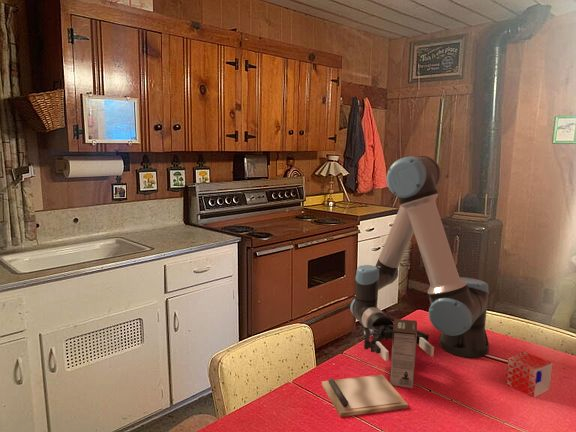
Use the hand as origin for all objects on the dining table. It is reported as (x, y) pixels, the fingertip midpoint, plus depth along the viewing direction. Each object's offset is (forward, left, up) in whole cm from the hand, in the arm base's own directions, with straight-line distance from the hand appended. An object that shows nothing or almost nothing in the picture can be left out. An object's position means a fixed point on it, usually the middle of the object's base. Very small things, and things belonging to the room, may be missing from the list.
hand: (410, 354), depth 125 cm
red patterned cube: (-32, +8, -9) cm, 34 cm away
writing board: (+14, +3, -9) cm, 17 cm away
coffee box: (0, -3, -9) cm, 10 cm away
